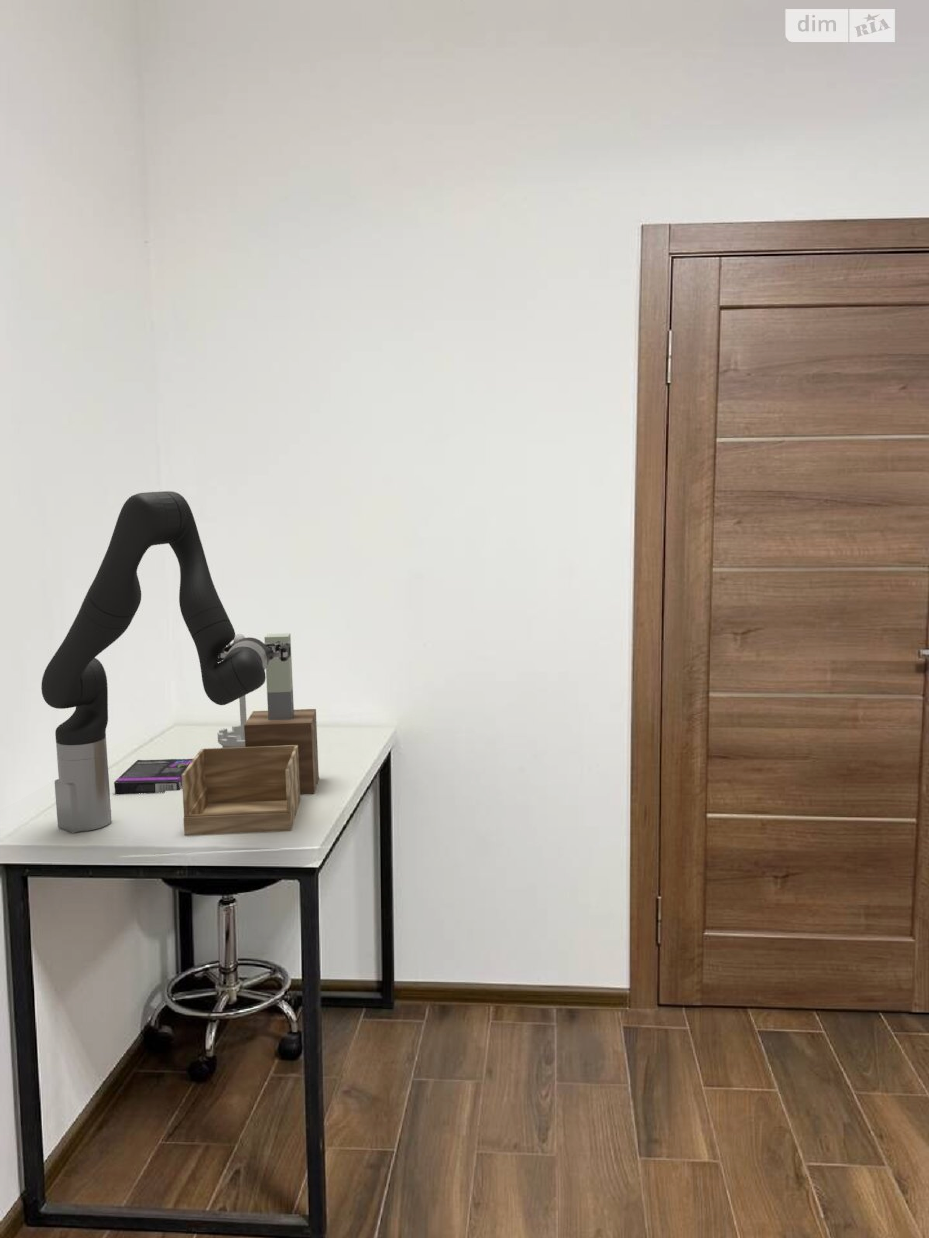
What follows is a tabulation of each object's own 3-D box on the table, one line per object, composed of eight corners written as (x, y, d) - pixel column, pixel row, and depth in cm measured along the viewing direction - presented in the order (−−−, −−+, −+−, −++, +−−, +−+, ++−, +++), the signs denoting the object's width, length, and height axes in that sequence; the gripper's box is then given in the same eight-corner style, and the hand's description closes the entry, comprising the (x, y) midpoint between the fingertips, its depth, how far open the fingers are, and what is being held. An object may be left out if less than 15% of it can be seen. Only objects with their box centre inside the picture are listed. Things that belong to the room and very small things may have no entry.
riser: (314, 795, 218) (311, 722, 216) (247, 798, 217) (244, 725, 215) (318, 777, 232) (315, 708, 230) (256, 780, 231) (253, 711, 229)
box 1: (178, 796, 223) (198, 770, 243) (177, 781, 223) (197, 756, 242) (114, 797, 223) (138, 771, 242) (113, 782, 222) (137, 757, 242)
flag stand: (249, 742, 267) (243, 628, 263) (281, 749, 259) (276, 632, 255) (207, 752, 257) (201, 635, 253) (240, 760, 249) (234, 639, 245)
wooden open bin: (291, 832, 195) (288, 771, 193) (184, 837, 194) (180, 775, 192) (300, 800, 215) (298, 744, 214) (204, 804, 214) (201, 748, 212)
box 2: (291, 719, 220) (288, 636, 218) (268, 719, 220) (264, 637, 218) (293, 714, 225) (290, 633, 223) (271, 714, 225) (267, 634, 223)
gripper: (284, 640, 192) (292, 627, 208) (207, 641, 190) (221, 628, 206) (285, 679, 193) (293, 664, 209) (208, 680, 191) (222, 665, 207)
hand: (257, 646), depth 208 cm, fingers open, 8 cm apart
